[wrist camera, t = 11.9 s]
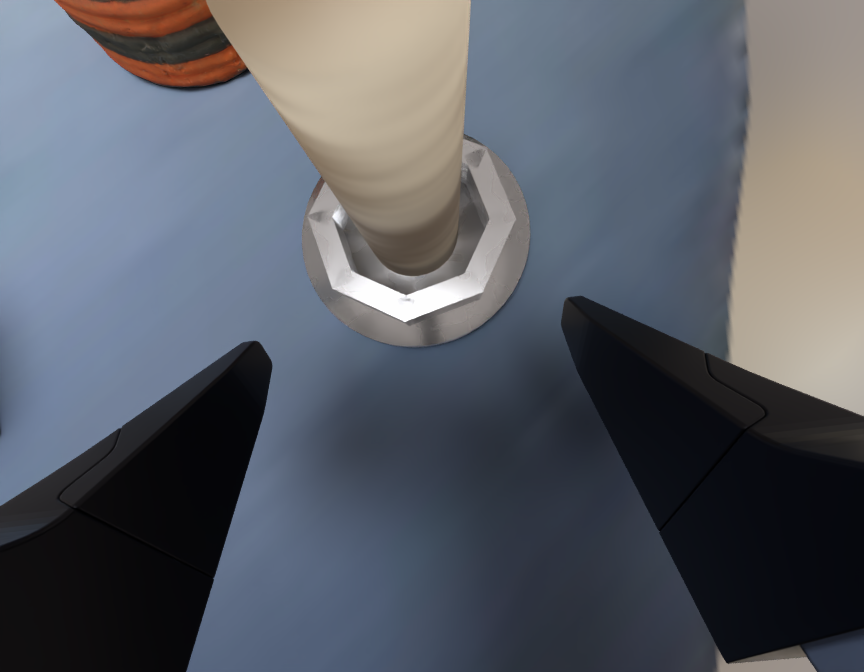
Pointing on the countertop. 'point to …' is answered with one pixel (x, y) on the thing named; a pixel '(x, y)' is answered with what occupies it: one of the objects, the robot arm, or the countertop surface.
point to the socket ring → (434, 292)
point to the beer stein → (160, 39)
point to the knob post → (370, 108)
